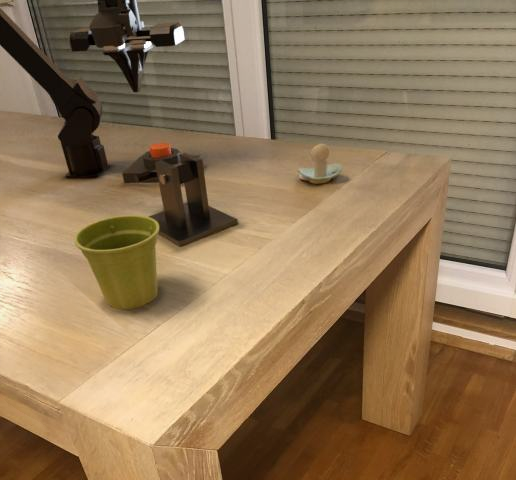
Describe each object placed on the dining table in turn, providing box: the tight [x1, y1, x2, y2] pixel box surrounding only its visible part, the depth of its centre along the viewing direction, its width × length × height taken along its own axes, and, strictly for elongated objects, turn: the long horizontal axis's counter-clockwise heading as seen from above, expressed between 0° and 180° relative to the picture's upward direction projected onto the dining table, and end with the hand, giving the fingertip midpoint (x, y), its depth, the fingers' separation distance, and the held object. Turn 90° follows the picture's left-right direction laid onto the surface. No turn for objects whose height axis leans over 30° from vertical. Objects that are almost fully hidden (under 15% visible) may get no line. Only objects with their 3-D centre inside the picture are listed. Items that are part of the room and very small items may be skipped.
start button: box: [149, 142, 172, 158], centre depth 99 cm, size 4×4×2 cm
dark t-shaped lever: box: [134, 163, 194, 185], centre depth 82 cm, size 11×6×2 cm, turn 38°
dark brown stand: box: [148, 152, 239, 248], centre depth 81 cm, size 11×10×10 cm
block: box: [121, 147, 204, 184], centre depth 101 cm, size 12×9×4 cm
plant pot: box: [73, 214, 159, 310], centre depth 65 cm, size 9×9×9 cm
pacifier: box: [297, 143, 343, 185], centre depth 93 cm, size 7×6×6 cm
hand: (136, 91), depth 100 cm, fingers closed
